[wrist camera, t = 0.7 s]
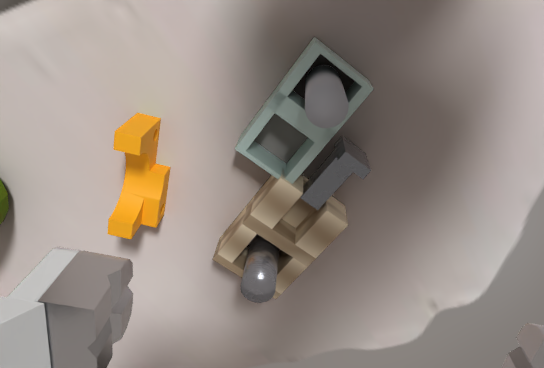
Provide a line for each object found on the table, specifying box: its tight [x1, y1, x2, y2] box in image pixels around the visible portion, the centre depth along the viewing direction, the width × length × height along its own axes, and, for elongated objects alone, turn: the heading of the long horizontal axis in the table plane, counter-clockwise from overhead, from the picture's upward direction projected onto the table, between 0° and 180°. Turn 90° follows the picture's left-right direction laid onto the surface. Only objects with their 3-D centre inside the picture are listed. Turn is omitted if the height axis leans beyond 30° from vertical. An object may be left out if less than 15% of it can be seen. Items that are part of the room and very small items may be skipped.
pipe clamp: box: [108, 113, 170, 239], centre depth 47 cm, size 12×4×6 cm, turn 167°
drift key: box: [300, 136, 371, 210], centre depth 45 cm, size 8×3×5 cm, turn 144°
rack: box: [235, 37, 374, 184], centre depth 42 cm, size 13×7×10 cm, turn 144°
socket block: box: [213, 171, 348, 299], centre depth 50 cm, size 13×9×4 cm
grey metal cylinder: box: [241, 234, 279, 303], centre depth 49 cm, size 4×4×10 cm
